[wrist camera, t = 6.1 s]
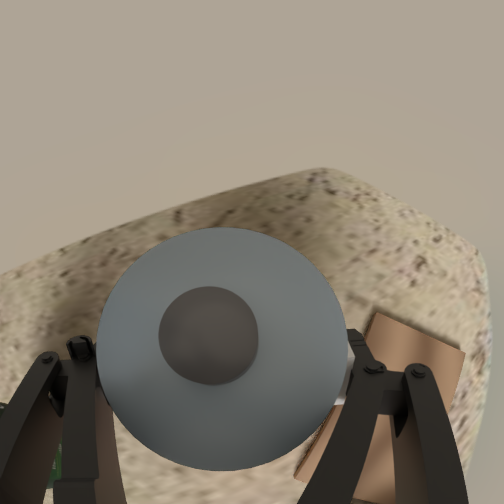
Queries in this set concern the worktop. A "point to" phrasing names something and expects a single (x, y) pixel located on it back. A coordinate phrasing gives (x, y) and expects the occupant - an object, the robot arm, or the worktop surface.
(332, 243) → the worktop surface
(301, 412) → the blue-grey knobbed jar
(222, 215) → the worktop surface
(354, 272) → the worktop surface
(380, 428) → the mat
